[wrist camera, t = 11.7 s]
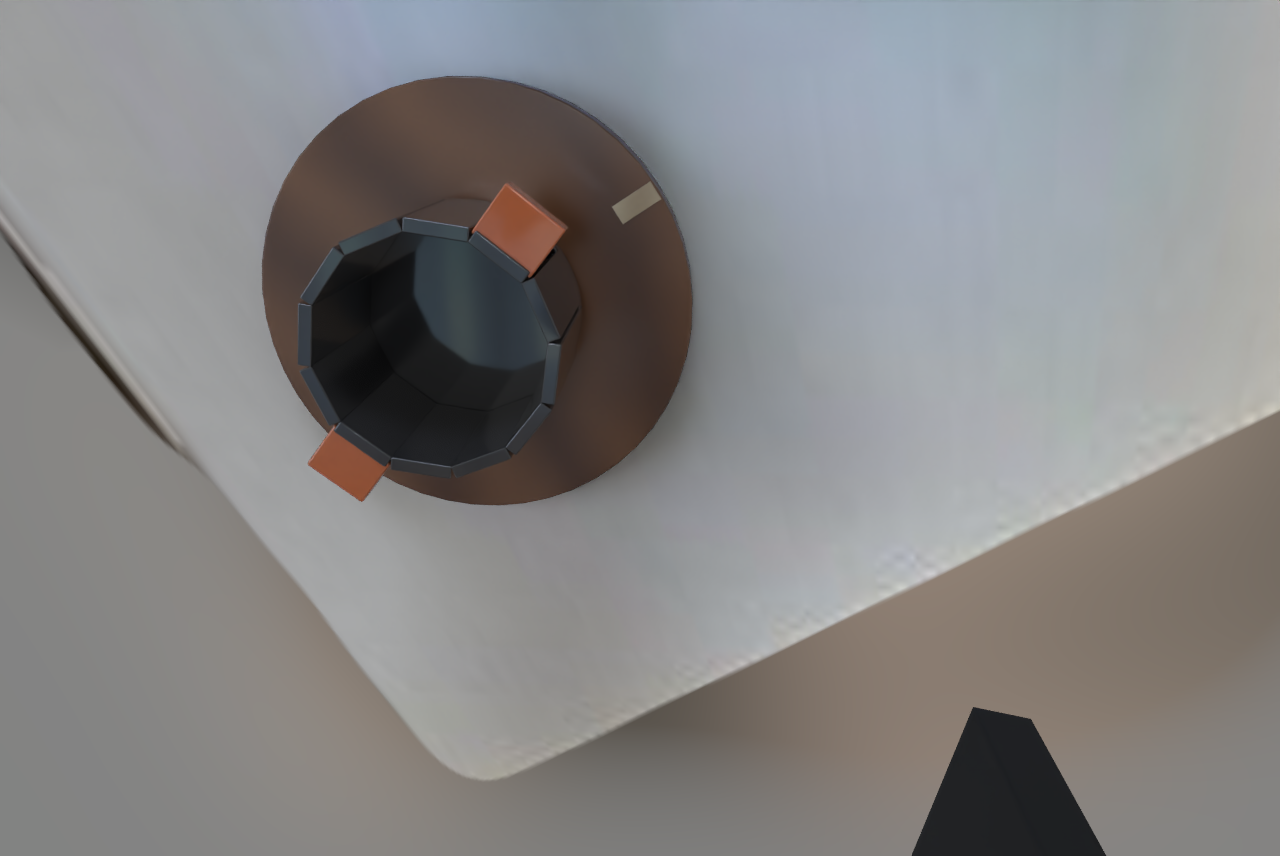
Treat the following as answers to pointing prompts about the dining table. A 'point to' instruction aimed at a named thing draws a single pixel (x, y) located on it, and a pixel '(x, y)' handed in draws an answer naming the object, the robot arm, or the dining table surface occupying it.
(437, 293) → the cooking pot
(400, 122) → the turntable
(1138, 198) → the dining table surface
